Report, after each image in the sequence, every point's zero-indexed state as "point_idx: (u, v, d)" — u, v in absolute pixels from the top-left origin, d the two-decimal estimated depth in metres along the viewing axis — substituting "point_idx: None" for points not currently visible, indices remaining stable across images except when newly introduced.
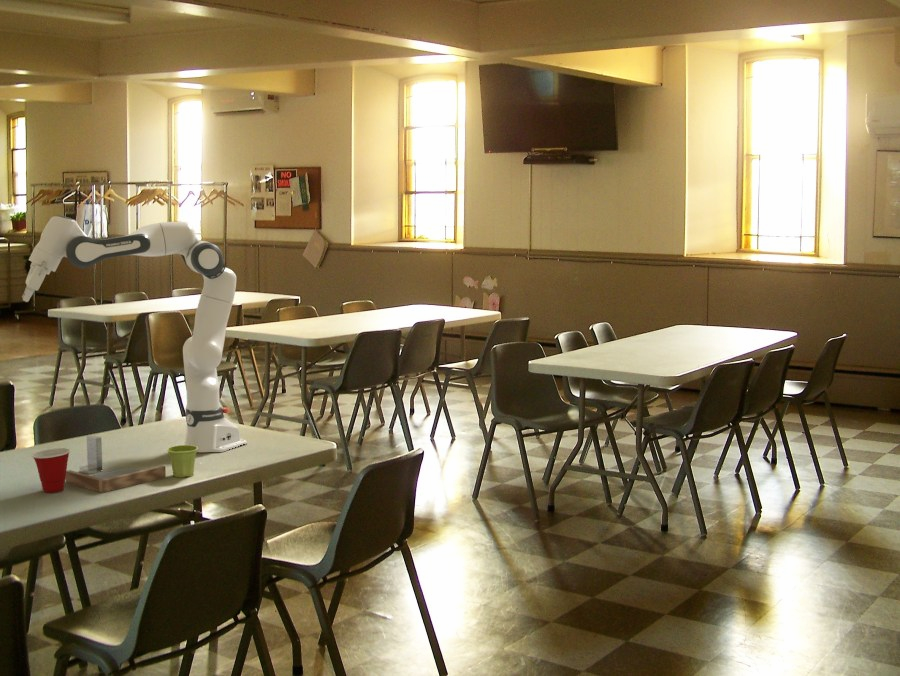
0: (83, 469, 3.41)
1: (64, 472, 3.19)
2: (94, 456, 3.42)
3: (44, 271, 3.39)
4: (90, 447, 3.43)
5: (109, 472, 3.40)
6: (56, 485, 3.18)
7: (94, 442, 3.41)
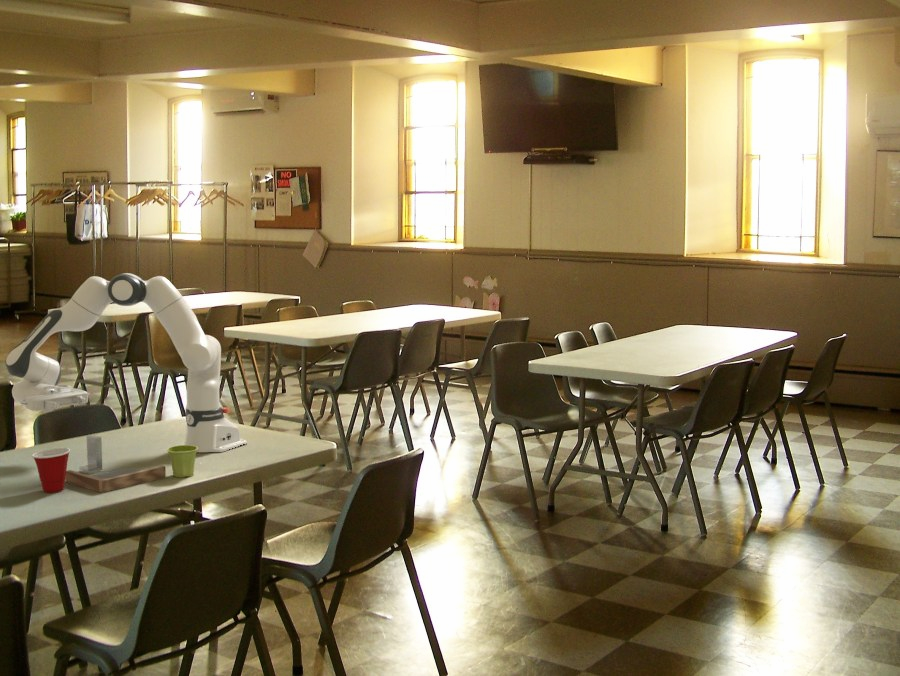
0: (83, 469, 3.41)
1: (64, 472, 3.19)
2: (94, 456, 3.42)
3: (25, 399, 3.48)
4: (90, 447, 3.43)
5: (109, 472, 3.40)
6: (56, 485, 3.18)
7: (94, 442, 3.41)
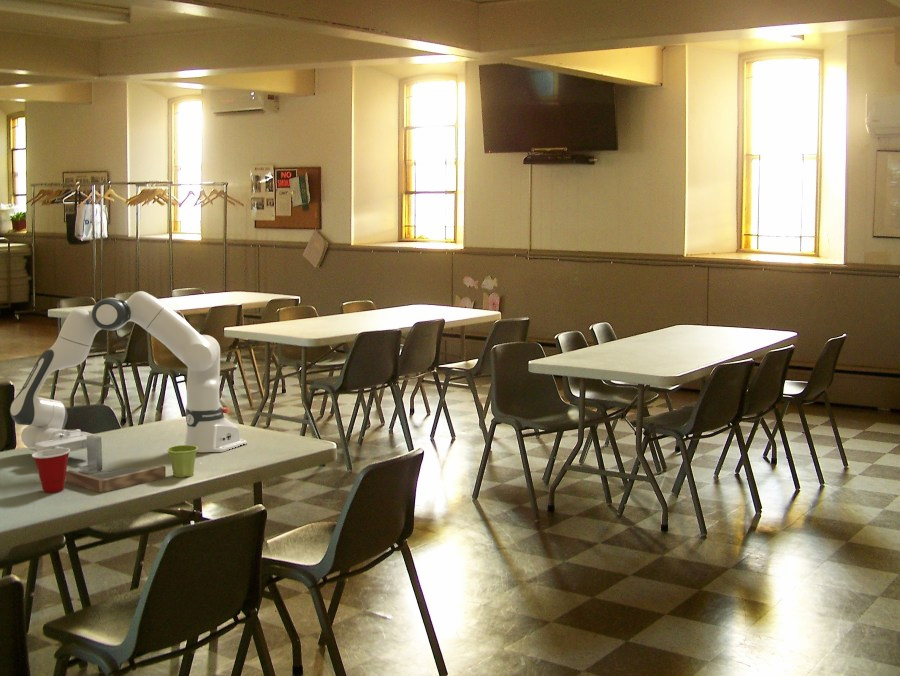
0: (83, 469, 3.41)
1: (64, 472, 3.19)
2: (94, 456, 3.42)
3: (35, 445, 3.48)
4: (90, 447, 3.43)
5: (109, 472, 3.40)
6: (56, 485, 3.18)
7: (94, 442, 3.41)
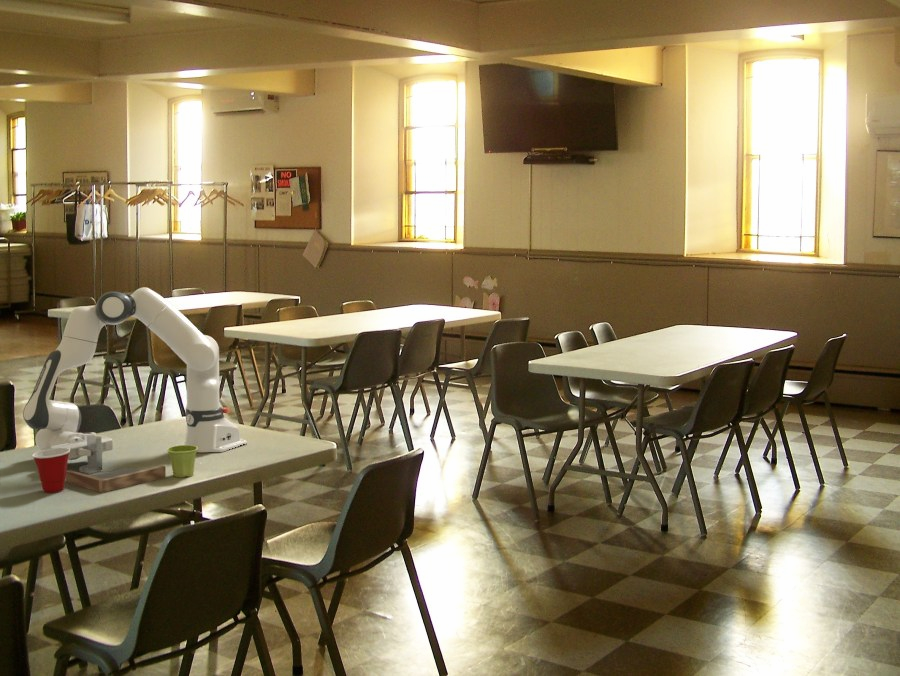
0: (83, 469, 3.41)
1: (64, 472, 3.19)
2: (94, 456, 3.42)
3: None
4: (90, 447, 3.43)
5: (109, 472, 3.40)
6: (56, 485, 3.18)
7: (94, 441, 3.41)
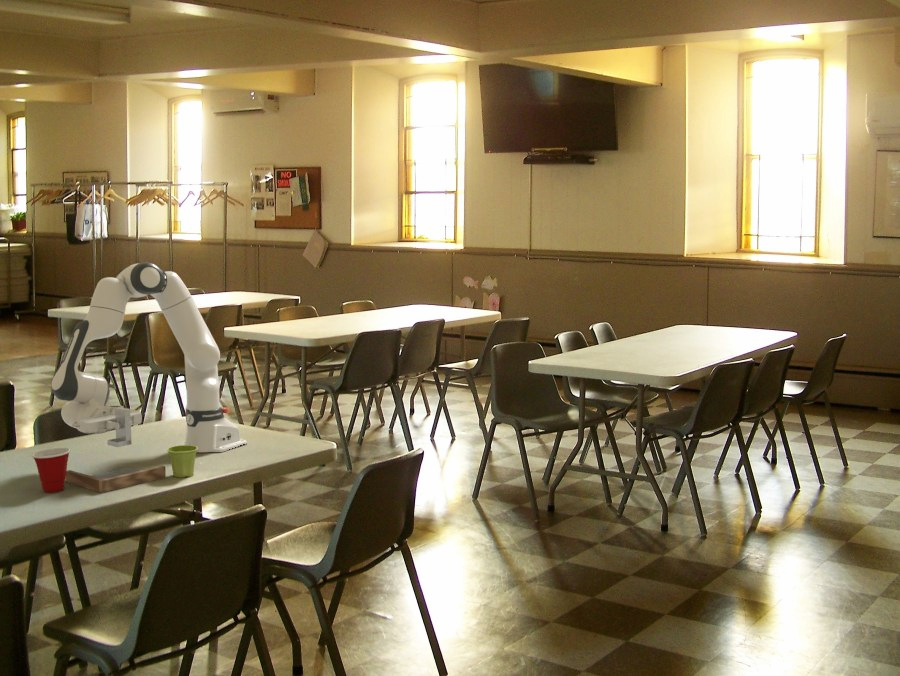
0: (112, 442, 3.30)
1: (64, 472, 3.19)
2: (123, 429, 3.31)
3: (77, 422, 3.32)
4: (119, 419, 3.32)
5: (109, 472, 3.40)
6: (56, 485, 3.18)
7: (123, 414, 3.30)
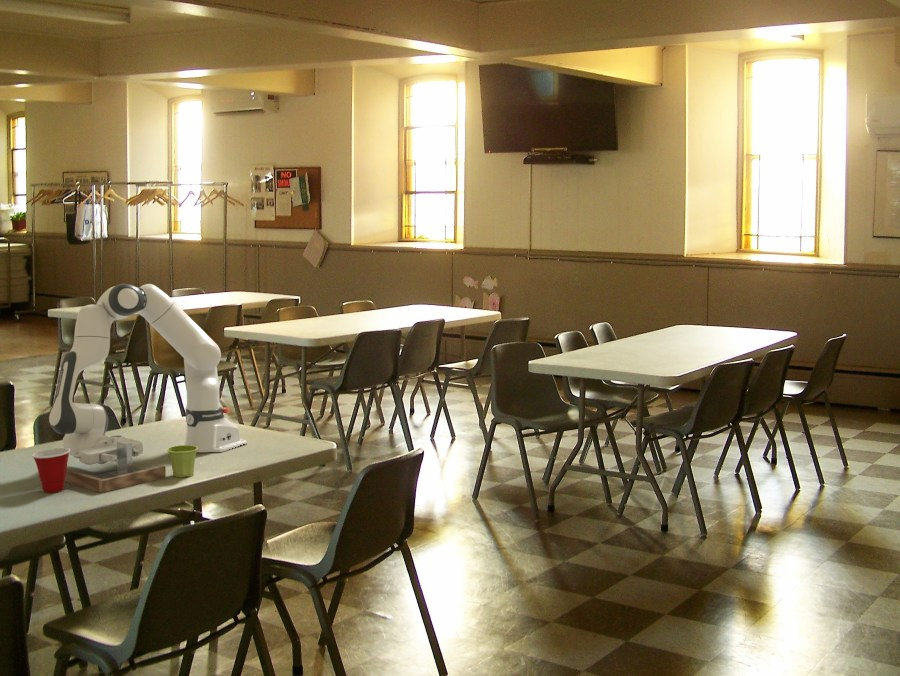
0: (113, 476, 3.31)
1: (64, 472, 3.19)
2: (124, 463, 3.32)
3: (79, 453, 3.33)
4: (120, 453, 3.33)
5: (109, 472, 3.40)
6: (56, 485, 3.18)
7: (124, 447, 3.31)
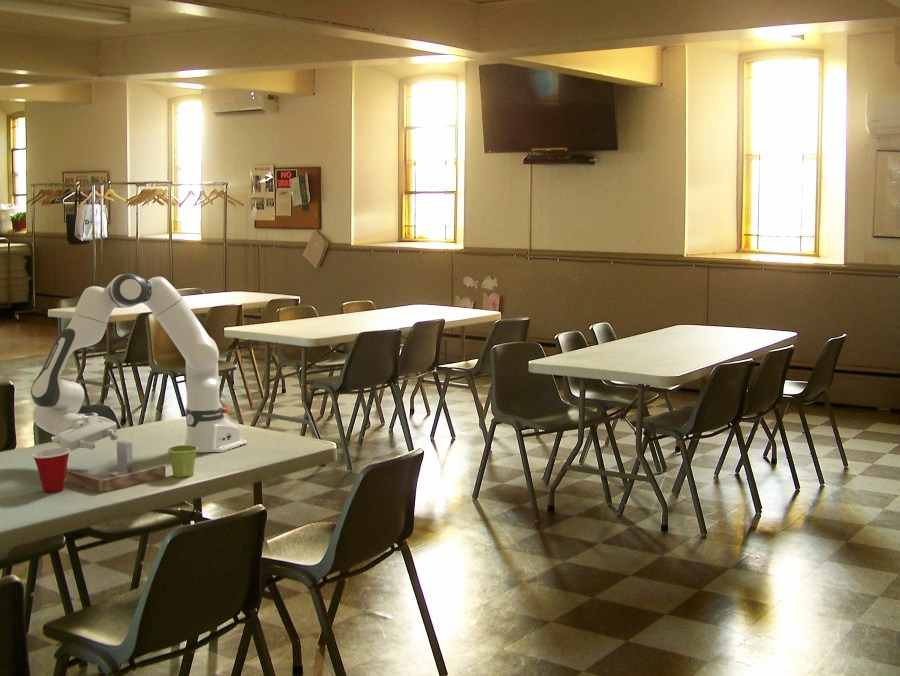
0: (113, 476, 3.31)
1: (64, 472, 3.19)
2: (124, 463, 3.32)
3: (57, 437, 3.39)
4: (120, 453, 3.33)
5: (109, 472, 3.40)
6: (56, 485, 3.18)
7: (124, 447, 3.31)
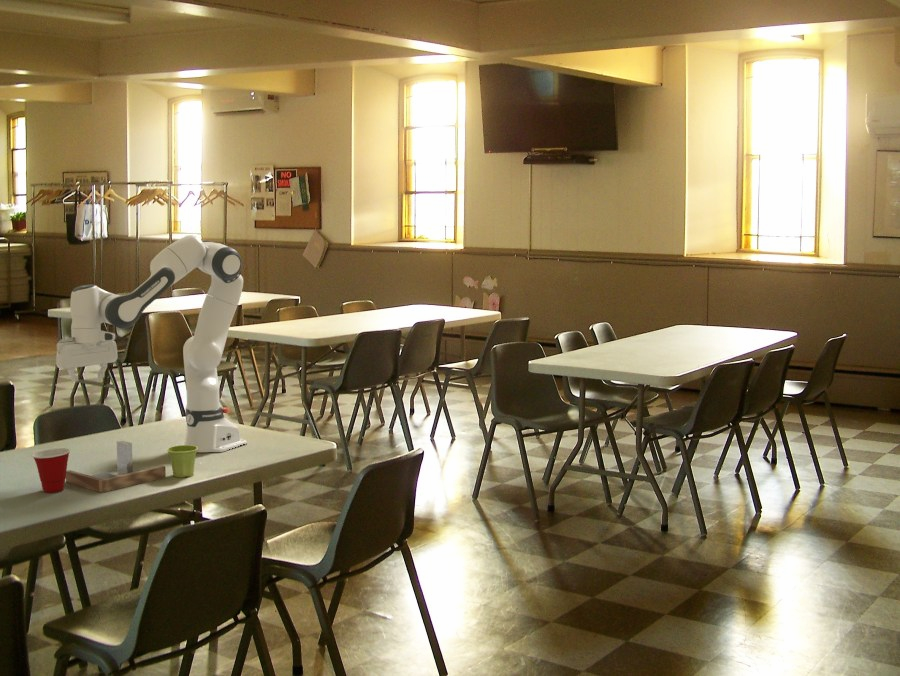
0: (113, 476, 3.31)
1: (64, 472, 3.19)
2: (124, 463, 3.32)
3: (62, 348, 3.33)
4: (120, 453, 3.33)
5: (109, 472, 3.40)
6: (56, 485, 3.18)
7: (124, 447, 3.31)
